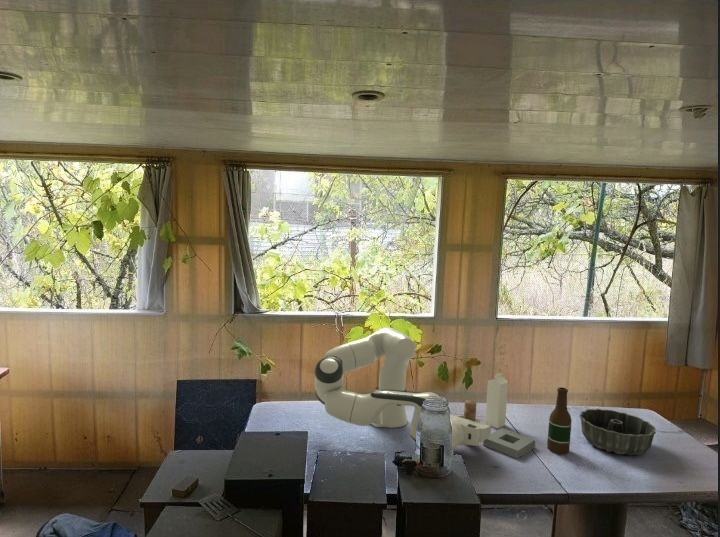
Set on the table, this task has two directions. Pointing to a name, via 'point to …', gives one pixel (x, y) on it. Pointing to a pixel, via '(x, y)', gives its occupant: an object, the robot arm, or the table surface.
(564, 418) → the beer bottle
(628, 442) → the bundt pan
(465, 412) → the dowel
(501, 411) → the milk
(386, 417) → the robot arm
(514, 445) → the socket block
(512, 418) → the table surface
